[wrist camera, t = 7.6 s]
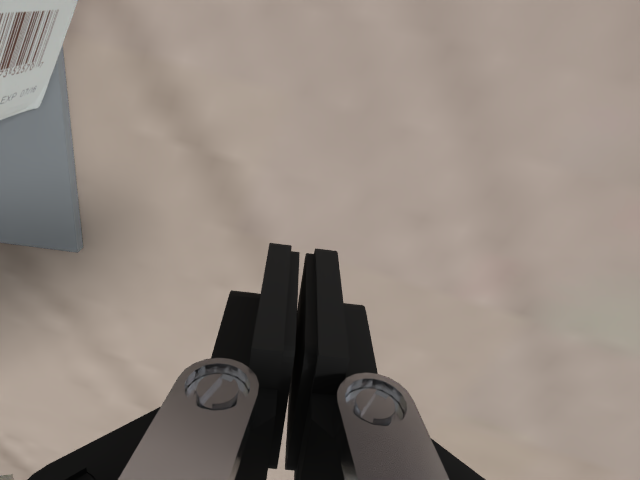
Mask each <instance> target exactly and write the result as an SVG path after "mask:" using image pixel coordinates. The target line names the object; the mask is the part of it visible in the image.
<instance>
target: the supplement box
mask: <svg viewBox="0 0 640 480" xmlns="http://www.w3.org/2000/svg"><path fill="white" fill-rule="evenodd" d="M77 2H78V0H0V120H2V119H5V118H8V117H10V116H13V115H16V114H19V113H21V112H25V111H29V110H32V109H36V108H38V107H39V106H40V104H41V102H42V100H43V97H44V94H45V92H46V89H47V86H48V83H49V80H50V77H51V75H52V72H53V69H54V67H55V64H56V61H57V58H58V55H59V53H60V50H61V47H62V45H63V42H64V39H65V36H66V33H67V30H68V27H69V25H70V22H71V19H72V16H73V13H74V10H75V7H76V4H77Z"/></svg>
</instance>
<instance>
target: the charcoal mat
mask: <svg viewBox="0 0 640 480" xmlns="http://www.w3.org/2000/svg"><path fill="white" fill-rule="evenodd" d="M0 243H7V244H15V245H23V246H31V247H38V248H46V249H54V250H62V251H69V252H77V253H78V252H79V251H80V250H81V249H82V248H83V242H82V232H81V222H80V212H79V202H78V192H77V182H76V172H75V162H74V152H73V143H72V133H71V123H70V113H69V103H68V93H67V83H66V73H65V63H64V53H63V45H62V47H61V50H60V53H59V55H58V58H57V61H56V64H55V67H54V69H53V72H52V75H51V77H50V80H49V83H48V86H47V89H46V92H45V94H44V97H43V100H42V102H41V104H40V106H39V107H38V108H36V109H32V110H29V111H25V112H21V113H19V114H16V115H13V116H10V117H8V118H5V119H2V120H0Z"/></svg>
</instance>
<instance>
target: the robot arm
mask: <svg viewBox="0 0 640 480" xmlns="http://www.w3.org/2000/svg"><path fill="white" fill-rule="evenodd" d="M298 274H299V252H292V251H291V246H290V245H282V244H274V243H270V244H269V250H268V256H267V261H266V267H265V273H264V278H263V284H262V290H261V294H257V293H248V292H239V291H230V294H229V297H228V301H227V304H226V308H225V311H224V315H223V318H222V322H221V325H220V329H219V332H218V336H217V339H216V343H215V346H214V350H213V353H212V357H211V359H205V360H202V361H199V362H196V363H194V364H192V365H191V366H189V367H188V368H186V369H185V370H184V371H183V372H182V373H181V375H180V376H179V377H178V379H177V380H176V382H175V384H174V385H173V387H172V389H171V390H170V392H169V394H168V396H167V397H166V399H165V401H164V402H163V404H162V406H161V407H159V408H157V409H155V410H153V411H151V412H150V413H148V414H146V415H144V416H142V417H140V418H138V419H136V420H134V421H132V422H130V423H128V424H126V425H124V426H122V427H120V428H118V429H116V430H115V431H113V432H111V433H109V434H107V435H105V436H103V437H101V438H99V439H97V440H95V441H93V442H91V443H89V444H87V445H85V446H83V447H81V448H79V449H78V450H76V451H74V452H72V453H70V454H68V455H66V456H64V457H62V458H60V459H58V460H56V461H54V462H52V463H50V464H48V465H47V466H45V467H44V468H42V469H41V470H39V471H37V472H36V473H34V474H33V475H32V476H31V477H30V478H29V479H28V480H266V478H267V471H268V468H272V469H277V465H278V459H279V453H280V446H281V440H282V434H283V427H284V421H285V415H286V408H287V402H288V395H289V403H288V422H287V440H286V458H285V470H295V473H294V480H485V479H484V478H482V477H481V476H480V475H479V474H477V473H476V472H475V471H473V470H472V469H471V468H469V467H468V466H467V465H465V464H464V463H463V462H461V461H460V460H459V459H457V458H456V457H455V456H453V455H452V454H451V453H449V452H448V451H447V450H446V449H444V448H443V447H442V446H440V445H439V444H438V443H436V442H435V441H434V440H432V439H431V438H430V436H429V434H428V431H427V429H426V427H425V425H424V423H423V420H422V418H421V416H420V414H419V412H418V409H417V407H416V405H415V403H414V401H413V399H412V397H411V396H410V394H409V393H408V391H407V390H406V389H405V388H404V387H402V386H401V385H400V384H399V383H397V382H396V381H394V380H392V379H390V378H389V377H386V376H382V375H379V374H378V373H377V368H376V363H375V357H374V352H373V347H372V341H371V336H370V331H369V325H368V320H367V315H366V310H365V307H364V306H363V305H354V304H345V303H343V296H342V287H341V279H340V270H339V261H338V253H337V251H331V250H323V249H315V251H314V254H309V253H306V256H305V262H304V269H303V276H302V282H301V289H300V295H299V302H298V309H297V297H298ZM0 480H14V478H13V474H12V475H3V476H0Z"/></svg>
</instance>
